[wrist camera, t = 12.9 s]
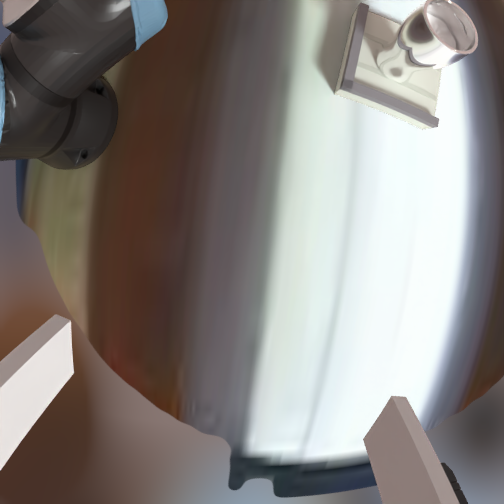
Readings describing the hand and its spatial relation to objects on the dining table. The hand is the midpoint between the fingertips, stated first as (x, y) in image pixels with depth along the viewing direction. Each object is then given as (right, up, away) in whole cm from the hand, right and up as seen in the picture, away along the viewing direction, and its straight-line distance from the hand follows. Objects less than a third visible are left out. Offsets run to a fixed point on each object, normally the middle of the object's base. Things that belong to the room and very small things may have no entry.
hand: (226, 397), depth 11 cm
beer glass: (+20, +31, +22) cm, 43 cm away
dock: (+21, +31, +25) cm, 45 cm away
